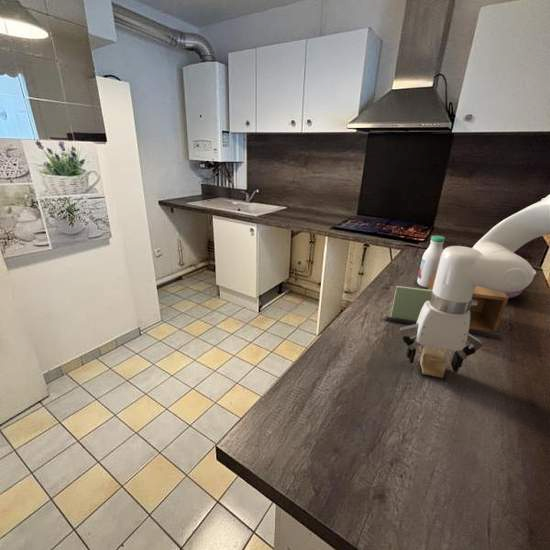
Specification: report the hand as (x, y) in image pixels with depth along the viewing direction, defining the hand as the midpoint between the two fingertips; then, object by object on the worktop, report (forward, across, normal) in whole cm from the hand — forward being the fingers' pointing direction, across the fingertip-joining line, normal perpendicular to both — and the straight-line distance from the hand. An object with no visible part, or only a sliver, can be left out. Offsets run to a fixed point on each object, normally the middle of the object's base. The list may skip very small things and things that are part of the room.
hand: (431, 364), depth 71 cm
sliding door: (+1, 0, -19) cm, 19 cm away
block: (+2, 0, 0) cm, 2 cm away
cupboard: (+2, -6, -28) cm, 29 cm away
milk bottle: (+2, -7, -55) cm, 55 cm away
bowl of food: (+2, -29, -53) cm, 61 cm away
